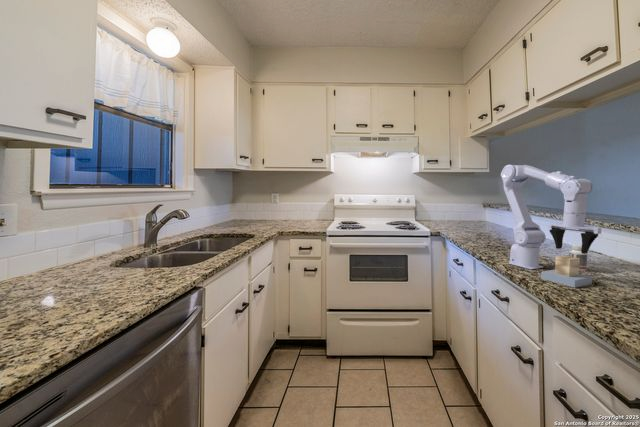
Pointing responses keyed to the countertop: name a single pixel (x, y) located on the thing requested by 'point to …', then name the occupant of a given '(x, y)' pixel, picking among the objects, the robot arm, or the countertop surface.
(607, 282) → the countertop surface
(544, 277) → the slate-blue block
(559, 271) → the maple cube
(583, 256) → the pill bottle
